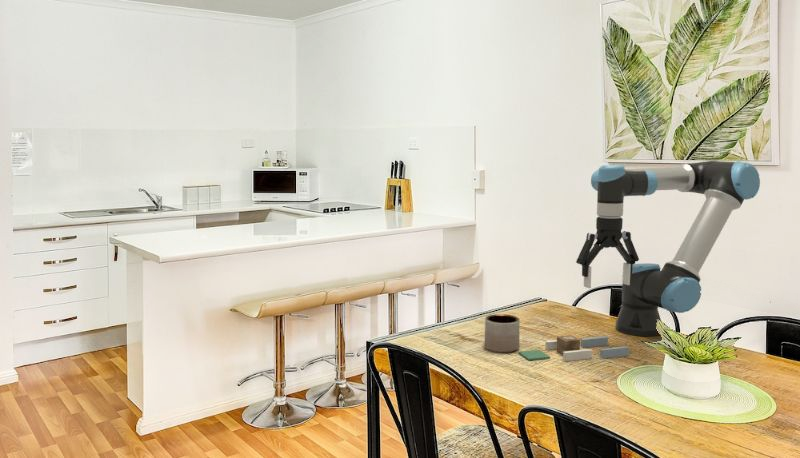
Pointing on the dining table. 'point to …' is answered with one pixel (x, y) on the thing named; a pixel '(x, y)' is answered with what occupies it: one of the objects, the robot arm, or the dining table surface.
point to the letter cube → (567, 344)
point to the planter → (502, 333)
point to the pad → (534, 355)
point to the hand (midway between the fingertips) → (606, 285)
